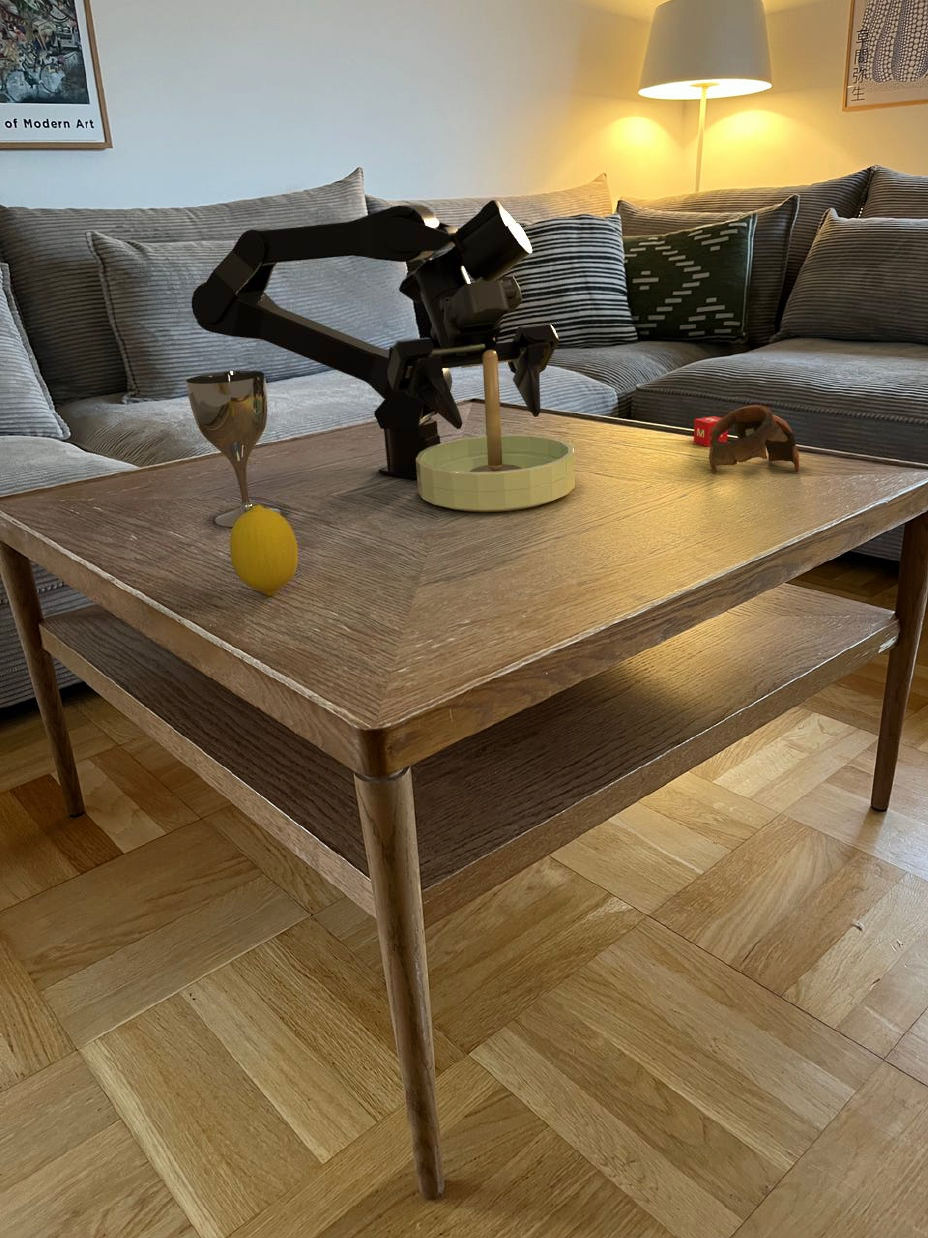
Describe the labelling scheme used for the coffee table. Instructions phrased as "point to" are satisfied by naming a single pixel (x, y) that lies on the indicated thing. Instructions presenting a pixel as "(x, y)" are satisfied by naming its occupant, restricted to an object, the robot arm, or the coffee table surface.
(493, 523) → the coffee table surface
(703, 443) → the dice
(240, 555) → the lemon
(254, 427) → the wine glass
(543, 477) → the bowl
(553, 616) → the coffee table surface
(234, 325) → the robot arm
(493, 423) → the stirring stick
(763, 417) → the brown arched hollow part
